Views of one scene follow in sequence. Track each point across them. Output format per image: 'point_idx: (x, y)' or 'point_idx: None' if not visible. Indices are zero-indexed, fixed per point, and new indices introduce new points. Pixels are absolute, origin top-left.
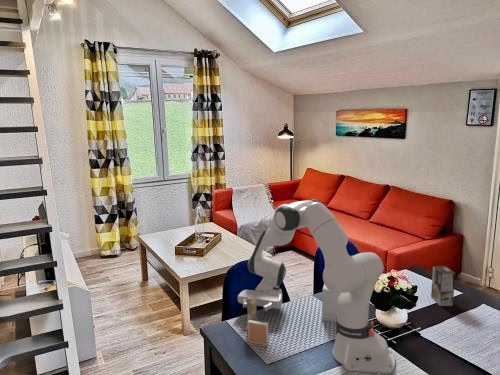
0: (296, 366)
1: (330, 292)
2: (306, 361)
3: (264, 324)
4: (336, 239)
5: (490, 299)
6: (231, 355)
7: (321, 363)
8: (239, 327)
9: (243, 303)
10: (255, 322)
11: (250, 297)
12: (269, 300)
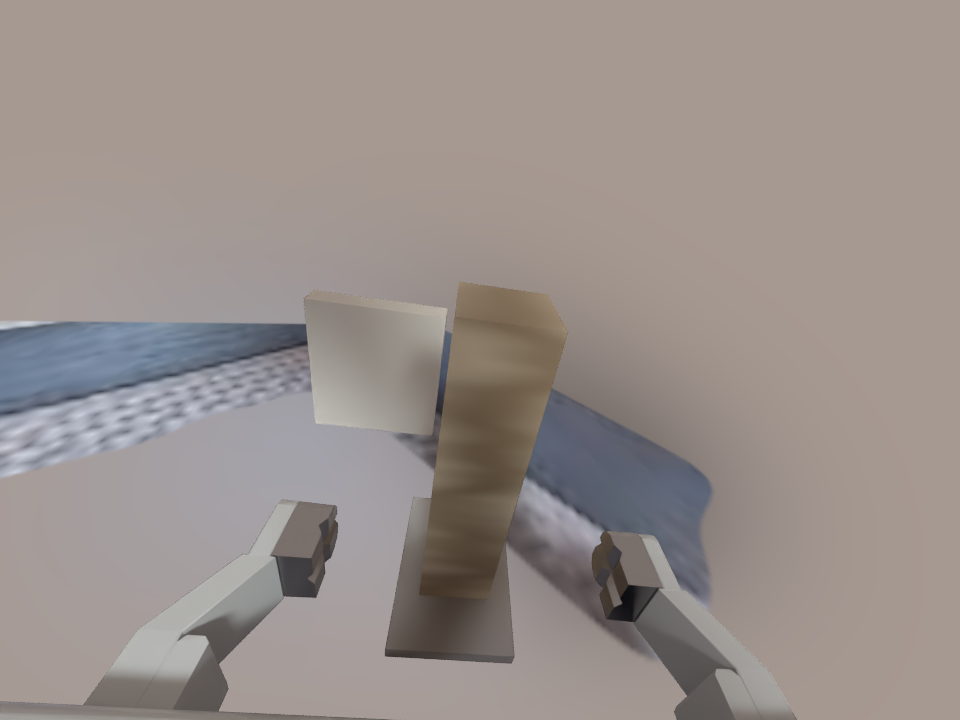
0: (203, 332)
1: None
2: (133, 348)
3: (331, 293)
4: None
5: None
6: None
7: (53, 341)
8: (551, 538)
9: (657, 543)
10: (395, 303)
11: (526, 308)
12: (137, 713)
